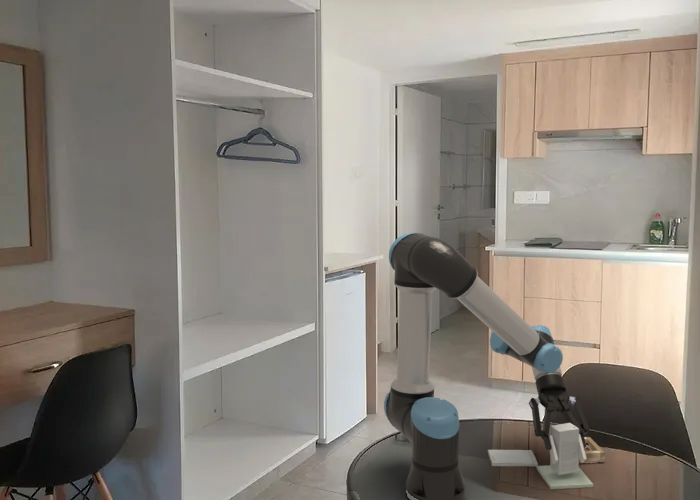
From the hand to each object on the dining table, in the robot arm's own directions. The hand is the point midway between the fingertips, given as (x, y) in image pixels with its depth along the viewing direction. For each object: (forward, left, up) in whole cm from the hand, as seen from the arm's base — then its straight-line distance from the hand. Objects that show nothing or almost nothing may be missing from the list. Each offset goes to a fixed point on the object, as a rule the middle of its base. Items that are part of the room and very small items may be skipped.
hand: (569, 461), depth 169 cm
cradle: (+9, +16, -6) cm, 19 cm away
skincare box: (0, +4, -4) cm, 6 cm away
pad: (0, +4, -6) cm, 7 cm away
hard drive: (-10, +15, -7) cm, 20 cm away
